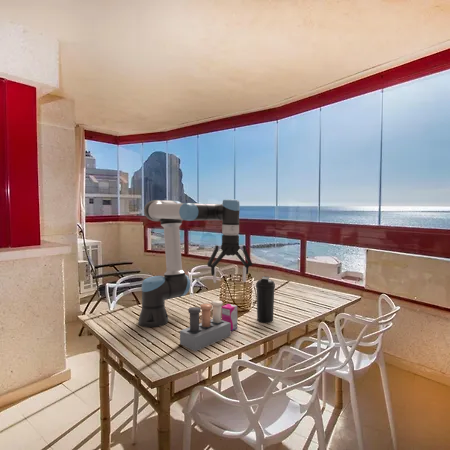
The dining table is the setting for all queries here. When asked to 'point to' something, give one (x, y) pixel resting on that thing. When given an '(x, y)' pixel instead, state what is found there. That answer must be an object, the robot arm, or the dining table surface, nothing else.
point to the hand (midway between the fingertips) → (229, 281)
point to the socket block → (205, 335)
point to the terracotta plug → (206, 314)
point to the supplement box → (230, 315)
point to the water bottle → (265, 299)
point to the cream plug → (217, 311)
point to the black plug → (194, 318)
